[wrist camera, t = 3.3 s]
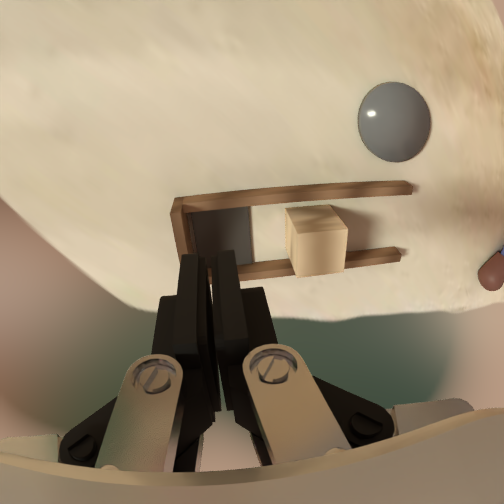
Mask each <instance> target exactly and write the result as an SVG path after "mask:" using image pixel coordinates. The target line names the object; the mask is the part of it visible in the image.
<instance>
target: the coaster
mask: <svg viewBox="0 0 504 504" xmlns="http://www.w3.org/2000/svg"><path fill="white" fill-rule="evenodd" d="M358 129H359V133H360V136H361V139H362V141H363V143H364V144H365V146H366V147H367V148H368V150H370V151H371V152H372V153H373V154H374V155H376V156H377V157H379V158H381V159H383V160H385V161H389V162H402V161H405V160H408V159H410V158H412V157H413V156H415V155H416V154H417V153H418V152H419V151H420V150H421V149H422V147H423V146H424V144H425V142H426V140H427V137H428V134H429V130H430V115H429V110H428V107H427V105H426V103H425V101H424V99H423V97H422V96H421V95H420V94H419V93H418V92H417V91H416V90H415V89H414V88H412V87H410V86H409V85H406V84H403V83H398V82H386V83H382V84H380V85H377V86H376V87H374V88H373V89H372V90H370V91H369V92H368V93H367V95H366V96H365V97H364V99H363V101H362V103H361V105H360V108H359V113H358Z"/></svg>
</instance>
